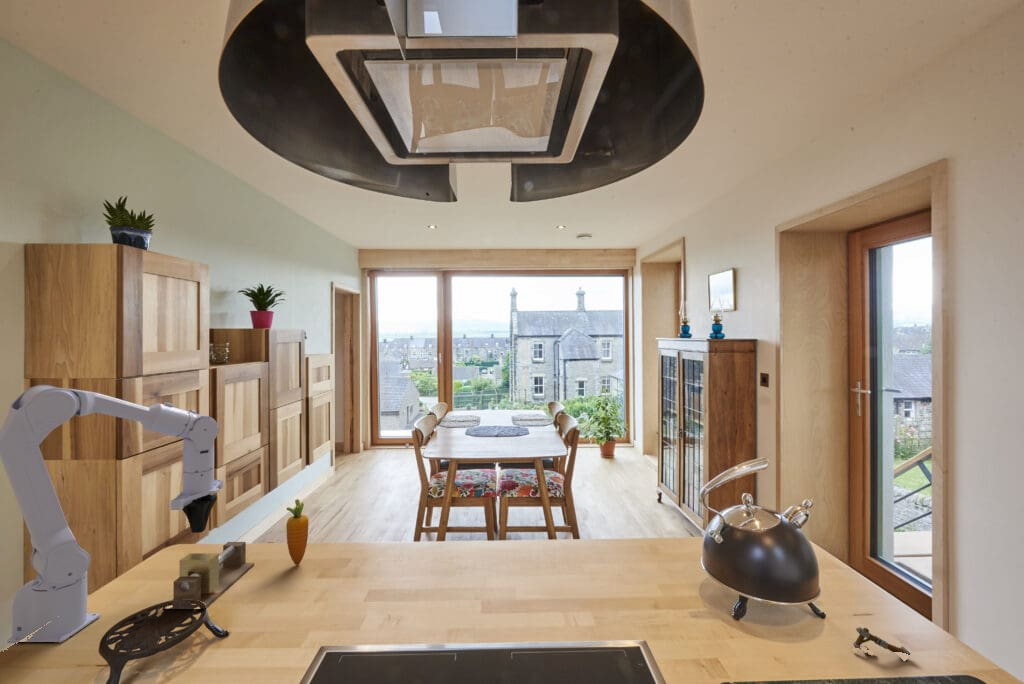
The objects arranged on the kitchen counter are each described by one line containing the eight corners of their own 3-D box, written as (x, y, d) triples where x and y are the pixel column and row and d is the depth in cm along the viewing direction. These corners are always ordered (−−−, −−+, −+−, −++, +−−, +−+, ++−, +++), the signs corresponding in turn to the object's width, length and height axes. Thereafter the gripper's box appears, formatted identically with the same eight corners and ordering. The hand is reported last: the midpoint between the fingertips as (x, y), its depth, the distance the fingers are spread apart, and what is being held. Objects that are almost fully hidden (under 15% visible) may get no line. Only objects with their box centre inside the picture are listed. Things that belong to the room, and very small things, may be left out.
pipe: (189, 592, 90) (189, 581, 90) (178, 592, 90) (178, 581, 90) (241, 550, 108) (241, 541, 108) (232, 550, 108) (232, 541, 108)
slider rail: (204, 609, 90) (204, 581, 90) (162, 610, 90) (163, 581, 90) (254, 565, 108) (254, 541, 108) (219, 565, 108) (219, 541, 108)
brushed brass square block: (209, 593, 94) (209, 560, 94) (179, 593, 93) (179, 560, 93) (218, 585, 97) (218, 553, 97) (189, 585, 96) (189, 553, 96)
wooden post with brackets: (843, 644, 80) (855, 621, 79) (891, 668, 78) (904, 645, 78) (849, 651, 78) (861, 627, 78) (898, 676, 77) (911, 652, 76)
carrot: (303, 570, 106) (303, 504, 106) (281, 570, 106) (281, 504, 106) (312, 560, 111) (313, 497, 111) (292, 560, 111) (292, 497, 111)
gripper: (195, 479, 95) (195, 545, 95) (236, 461, 110) (235, 518, 110) (160, 479, 95) (160, 545, 95) (205, 461, 110) (205, 518, 110)
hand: (198, 531), depth 102 cm, fingers closed
